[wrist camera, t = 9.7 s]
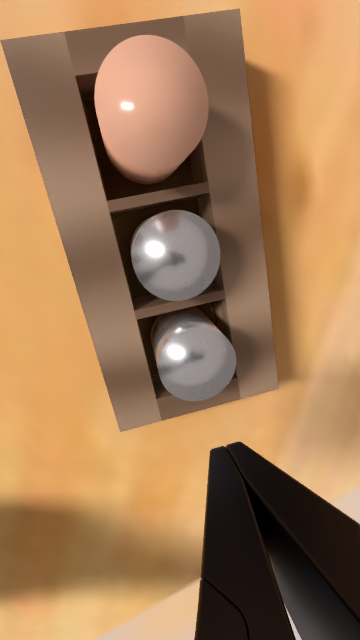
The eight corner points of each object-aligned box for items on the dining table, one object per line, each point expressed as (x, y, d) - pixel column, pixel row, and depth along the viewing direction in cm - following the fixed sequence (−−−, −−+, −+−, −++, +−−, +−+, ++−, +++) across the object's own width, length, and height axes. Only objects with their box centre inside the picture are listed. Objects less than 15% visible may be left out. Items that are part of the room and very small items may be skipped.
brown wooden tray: (258, 368, 22) (278, 388, 19) (120, 404, 21) (120, 432, 18) (219, 47, 16) (239, 8, 13) (23, 75, 15) (0, 40, 12)
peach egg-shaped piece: (190, 176, 16) (216, 157, 12) (115, 191, 16) (111, 176, 11) (176, 86, 15) (198, 27, 10) (93, 100, 14) (79, 43, 10)
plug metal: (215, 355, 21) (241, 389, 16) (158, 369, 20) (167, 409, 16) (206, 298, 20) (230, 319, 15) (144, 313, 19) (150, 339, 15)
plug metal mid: (202, 275, 19) (226, 290, 15) (138, 289, 19) (143, 309, 14) (190, 208, 18) (213, 201, 13) (122, 221, 17) (122, 220, 13)
